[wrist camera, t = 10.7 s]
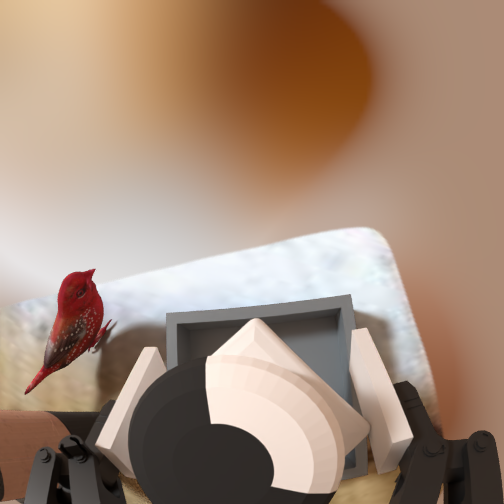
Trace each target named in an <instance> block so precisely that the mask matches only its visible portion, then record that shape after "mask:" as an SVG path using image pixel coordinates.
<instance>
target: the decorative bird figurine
mask: <svg viewBox="0 0 504 504" xmlns="http://www.w3.org/2000/svg"><path fill="white" fill-rule="evenodd" d="M94 271H95V269H92V270H88V271H85V272H73V273H71V274H69V275H68V276H67V277H66V278H65V279H64V280H63V282H62V284H61V287H60V290H59V293H58V313H57V316H56V319H55V322H54V325H53V328H52V330H51V333H50V335H49V338H48V342H47V346H46V351H45V356H44V365H43V367H42V368H41V370H40V371H39V373H38V374H37V375H36V377H35V378H34V379H33V381H32V382H31V384H30V385H29V386H28V388H27V389H26V391H25V395H26V394H28V393H29V392H30V391H31V390H32V389H34V388H35V387H36V386H37V385H38V384H39V383H40V382H41V381H42V380H43V379H44V378H46V377H47V376H48V375H50V374H51V373H53V372H55V371H58V370H60V369H62V368H65V367H66V366H68V365H69V364H70V363H71V362H72V361H74V360H75V359H76V358H78V357H79V356H80V355H81V354H83V353H84V352H85V351H86V350H87V349H88V352H89V350H90V348H91V347H94V345H95V344H96V343H97V342H98V341H99V339H100V338H101V337H102V336H103V335H104V334H105V332H106V328H107V326H108V325H109V323H110V322H111V320H112V319H111V320H110V321H109V322H108V323H107V325H106V326H105V327H103V328H101V324H102V321H103V315H104V308H103V302H102V299H101V297H100V295H99V294H98V291H97V289H96V285H95V283H94V282H93V281H92V276H93V273H94ZM100 328H101V330H100ZM99 330H100V331H99Z"/></svg>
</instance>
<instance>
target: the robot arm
mask: <svg viewBox="0 0 504 504" xmlns="http://www.w3.org/2000/svg"><path fill="white" fill-rule="evenodd" d="M349 371H350V374H351V377H352V381H353V384H354V387H355V391H356V394H357V398H358V401H359V404H360V408H361V412H362V415H363V418H364V419H365V420H366V421H368V422H369V424H370V426H371V430H370V432H369V434H368V437H369V441H370V445H371V449H372V453H373V457H374V461H375V465H376V469H377V473H378V474H382V473H386V472H390V471H393V470H396V468H397V467H398V465H399V467H400V470H401V473H400V474H399V476H398V478H397V479H396V481H395V482H397V484H396V486H395V489H394V492H393V495H392V497H391V500H390V502H389V504H437V500H438V497H439V493H440V489H441V485H442V483H444V504H504V503H503V490H502V480H501V472H500V465H499V458H498V453H497V447H496V442H495V439H494V437H493V435H492V434H491V433H490V432H487V431H477V432H475V433H473V434H472V435H471V436H470V437H469V439H462V440H446V439H444V438H442V437H441V436H439V435H438V434H437V433H436V431H435V430H434V427H433V425H432V423H431V421H430V418H429V416H428V414H427V412H426V410H425V407H424V406H423V403H422V401H421V399H420V398H419V395H418V393H417V390H416V388H415V387H414V386H413V385H411V384H410V383H409V382H408V381H404V382H400V383H396V384H392V382H391V380H390V378H389V375H388V373H387V371H386V369H385V366H384V364H383V362H382V360H381V357H380V355H379V353H378V351H377V349H376V346H375V344H374V342H373V340H372V338H371V336H370V334H369V331H368V329H367V328H361V329H355V330H352V337H351V353H350V366H349ZM165 372H167V370H166V367H165V365H164V363H163V360H162V358H161V356H160V353H159V351H158V348H157V347H144V349H143V351H142V352H141V354H140V356H139V358H138V360H137V362H136V364H135V366H134V367H133V369H132V371H131V373H130V375H129V377H128V379H127V381H126V383H125V385H124V387H123V389H122V391H121V393H120V395H119V397H118V399H117V401H116V400H109V401H108V402H107V403H106V404H105V405H104V406H103V408H102V410H101V411H100V413H99V416H98V417H97V419H96V423H94V425H93V427H92V429H91V431H90V433H89V435H88V437H87V439H86V441H85V443H84V442H83V441H82V439H81V438H80V437H79V436H76V435H68V436H65V437H64V438H63V439H62V440H61V441H60V443H59V445H58V449H59V450H60V451H61V452H62V453H56V452H55V451H54V450H53V449H52V448H51V447H48V446H47V447H42V448H40V449H39V450H38V451H37V453H36V455H35V458H34V461H33V465H32V469H31V473H30V477H29V481H28V486H27V490H26V495H25V500H24V504H127V503H126V500H125V496H124V492H123V488H122V483H121V480H120V478H119V477H118V474H119V471H120V472H121V473H122V474H123V475H124V476H125V477H130V478H134V479H136V476H135V474H134V472H133V469H132V466H131V462H130V458H129V451H128V431H129V425H130V420H131V417H132V414H133V411H134V409H135V407H136V405H137V403H138V401H139V399H140V398H141V396H142V395H143V393H144V392H145V391H146V389H147V388H148V387H149V386H150V385H151V384H152V383H153V382H154V381H155V380H156V379H157V378H159V377H160V376H161V375H163V374H164V373H165ZM58 483H59V487H58V488H57V484H58Z"/></svg>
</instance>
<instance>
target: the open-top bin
mask: <svg viewBox="0 0 504 504" xmlns="http://www.w3.org/2000/svg"><path fill="white" fill-rule="evenodd" d="M254 318H259V319H261V320H262V321H263V322H264V323H265V324H266V325H267V326H268V327H269V328H270V329H271V330H272V331H273V332H274V333H275V334H276V335H277V336H278V337H279V338H280V339H281V340H282V341H283V342H284V343H285V344H286V345H287V346H288V347H289V348H290V349H291V350H292V351H293V352H294V353H295V354H296V355H297V356H298V357H300V358H301V359H302V360H303V361H304V362H305V363H306V364H307V365H308V366H309V367H310V368H311V369H312V370H313V371H314V372H315V373H316V374H317V375H318V376H319V377H320V378H321V379H322V380H323V381H324V382H325V383H327V384H328V385H329V386H330V387H331V388H332V389H333V390H334V391H335V392H336V393H337V394H338V395H339V396H340V397H341V398H342V399H344V400H345V401H346V402H347V403H348V404H349V405H350V406H351V407H352V408H353V409H354V410H355V411H357V412H358V413H359V414H360V415H361V416H362V417H363V415H362V412H361V408H360V404H359V401H358V398H357V394H356V391H355V387H354V384H353V381H352V377H351V374H350V371H349V366H350V353H351V337H352V330H355V329H356V323H355V317H354V310H353V304H352V298H351V294H349V295H342V296H335V297H328V298H320V299H312V300H305V301H296V302H288V303H279V304H270V305H261V306H251V307H240V308H229V309H217V310H205V311H191V312H176V313H166V350H167V371H168V370H170V369H172V368H174V367H176V366H178V365H179V364H182V363H185V362H188V361H190V360H193V359H197V358H202V357H206V356H211V355H212V354H214V353H215V352H216V351H217V350H218V349H219V348H220V347H221V346H223V345H224V344H225V343H226V342H227V341H228V340H229V339H230V338H231V337H233V336H234V335H235V334H236V333H237V332H238V331H239V330H240V329H241V328H242V327H243V326H245V325H246V324H247V323H248V322H249V321H250V320H252V319H254ZM365 475H368V457H367V436H366V437H365V438H364V439H363V440H362V441H361V442H360V443H359V444H358V445H357V446H356V447H354V448H353V449H352V450H351V451H350V452H349V453H348V454H347V455H346V456H345V465H344V469H343V474H342V478H341V480H345V479H350V478H355V477H360V476H365Z"/></svg>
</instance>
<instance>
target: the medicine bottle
mask: <svg viewBox="0 0 504 504" xmlns="http://www.w3.org/2000/svg"><path fill="white" fill-rule="evenodd" d="M370 430H371V426H370V424H369V422H368V421H366V420H365V419H364V418H363V417H362V416H361V415H360V414H359V413H358V412H357V411H355V410H354V409H353V408H352V407H351V406H350V405H349V404H348V403H347V402H346V401H345V400H344V399H342V398H341V397H340V396H339V395H338V394H337V393H336V392H335V391H334V390H333V389H332V388H331V387H330V386H329V385H328V384H327V383H325V382H324V381H323V380H322V379H321V378H320V377H319V376H318V375H317V374H316V373H315V372H314V371H313V370H312V369H311V368H310V367H309V366H308V365H307V364H306V363H305V362H304V361H303V360H302V359H301V358H300V357H298V356H297V355H296V354H295V353H294V352H293V351H292V350H291V349H290V348H289V347H288V346H287V345H286V344H285V343H284V342H283V341H282V340H281V339H280V338H279V337H278V336H277V335H276V334H275V333H274V332H273V331H272V330H271V329H270V328H269V327H268V326H267V325H266V324H265V323H264V322H263V321H262V320H261V319H259V318H254V319H252V320H250V321H249V322H248V323H247V324H246V325H245V326H243V327H242V328H241V329H240V330H239V331H238V332H237V333H236V334H235V335H234V336H233V337H231V338H230V339H229V340H228V341H227V342H226V343H225V344H224V345H223V346H221V347H220V348H219V349H218V350H217V351H216V352H215V353H214V354H212V355H211V356H206V357H202V358H197V359H193V360H190V361H188V362H185V363H182V364H179V365H178V366H176V367H174V368H172V369H170V370H168V371H167V372H165V373H164V374H163V375H161V376H160V377H159V378H157V379H156V380H155V381H154V382H153V383H152V384H151V385H150V386H149V387H148V388H147V389H146V391H145V392H144V393H143V395H142V396H141V398H140V399H139V401H138V403H137V405H136V407H135V409H134V411H133V414H132V417H131V420H130V425H129V431H128V451H129V458H130V462H131V466H132V469H133V472H134V474H135V476H136V479H137V481H138V483H139V485H140V486H141V488H142V490H143V491H144V493H145V494H146V496H147V497H148V498H149V500H150V501H151V502H152V503H153V504H329V502H330V501H331V499H332V498H333V496H334V494H335V493H336V491H337V489H338V486H339V484H340V481H341V478H342V474H343V469H344V465H345V456H346V455H347V454H348V453H349V452H350V451H351V450H352V449H353V448H354V447H356V446H357V445H358V444H359V443H360V442H361V441H362V440H363V439H364V438H365V437H366V436H367V435H368V434H369V432H370Z"/></svg>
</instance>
